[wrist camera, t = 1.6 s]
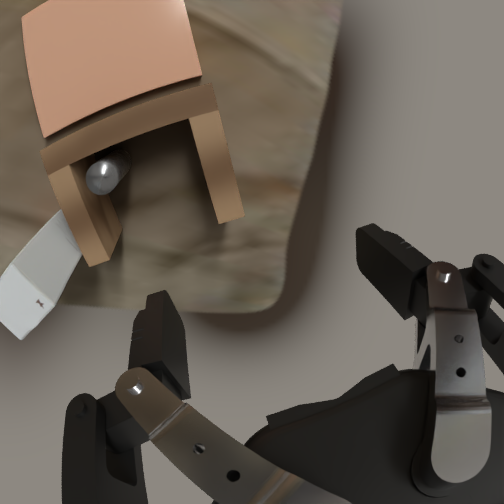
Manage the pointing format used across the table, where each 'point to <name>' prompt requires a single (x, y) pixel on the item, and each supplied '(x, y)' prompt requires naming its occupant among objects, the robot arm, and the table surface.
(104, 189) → the post
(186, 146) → the table surface
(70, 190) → the c link
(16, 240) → the table surface
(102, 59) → the tile
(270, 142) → the table surface
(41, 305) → the skincare box
